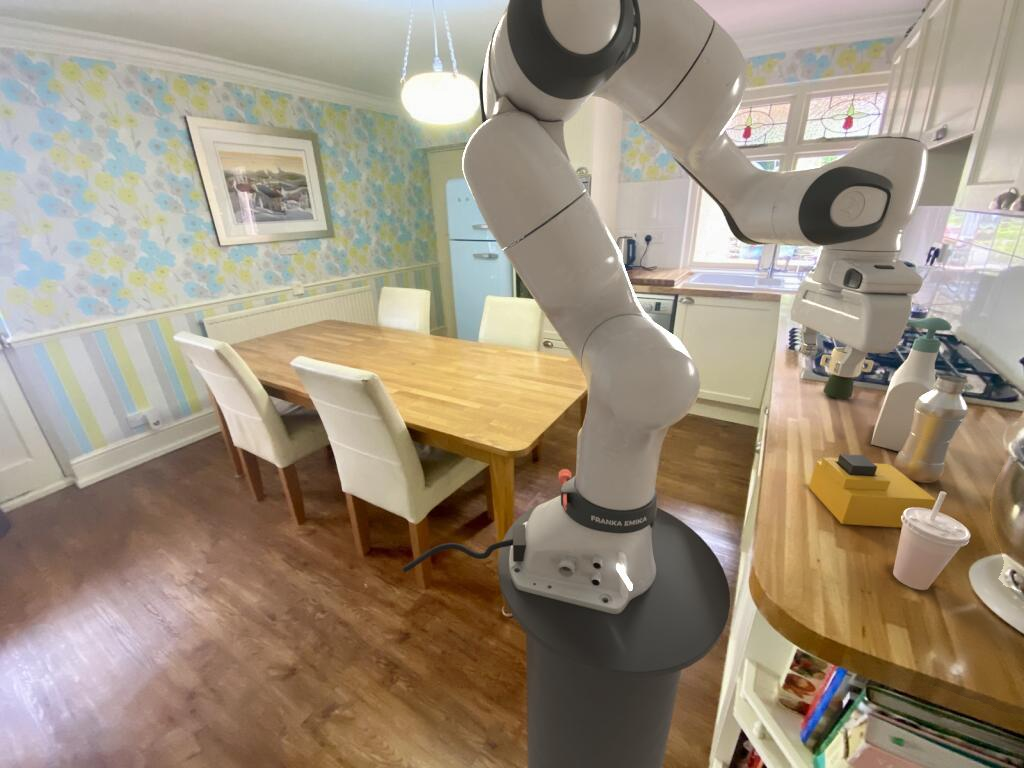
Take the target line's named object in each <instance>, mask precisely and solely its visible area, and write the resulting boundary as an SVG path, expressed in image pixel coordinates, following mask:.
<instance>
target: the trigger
mask: <svg viewBox="0 0 1024 768" xmlns="http://www.w3.org/2000/svg"><path fill="white" fill-rule="evenodd" d="M838 458H839V459H838V462H837V464H838V465H839V466H840V467H841V468H842V469H843V470H844V471H846V472H847V473H848V474H849V475H854V476H874V475H875V472H876V469H877V466H876V465H875V464H873V463H874V462H872V461H871V460H869V459H868V458H867V457H866V456H865V455H864V454H847V453H840V454H839V456H838Z"/></svg>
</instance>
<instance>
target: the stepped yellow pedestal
mask: <svg viewBox="0 0 1024 768" xmlns="http://www.w3.org/2000/svg"><path fill="white" fill-rule="evenodd" d="M838 459H839V457H822V460H816V461H815V464H814V467H813V472H812V475H811V478H810V482H809V485H808V489H810V490H811V491H812V493H813V494H814V495H815V496H816V497H817V499H819V501H820V502H822V504H823V506H825V508H827V510H829V512H830V513H831V514H832V515H833V516H834V517H835V518H836V519H837V520H838V522H839V523H840V524H841V525H851V526H853V525H854V526H867V527H868V526H870V527H886V528H901V529H902V525H903V522H902V520H901V516H902V515H903V513H904V511H905V510H906V509H908V508H925V509H929V510H933V507H934V505H935V503H936V501H937V499H936V498H935V497H933V496H932V495H931V494H929V493H928V492H927V491H925V490H924V489H923V488H922V487H920V486H919V485H918V484H916V483H915V481H913V480H910V479H909V478H907V477H906V476H905V475H903V474H902V473H901V472H899V471H898V470H897V469H896V468H895V467H894V465H892V464H891V463H877V462H876V463H875V462H872V463H873V464H875V465H876V466H877V469H876V472H875V475H874V476H854V475H849V474H848V473H847V472H846V471H844V470H843V469H842V468H841V467H840V466H839V465H838V464H837V462H838Z"/></svg>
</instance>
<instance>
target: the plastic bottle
mask: <svg viewBox="0 0 1024 768" xmlns="http://www.w3.org/2000/svg"><path fill="white" fill-rule="evenodd" d="M968 384H969V382H968V380H967V379H964V378H961V377H958V376H952V375H938V376H937V378H936V383H934V385H933V387H934V390H932V391H930V392H928V393H926V394H924V395H923V396H921V397H920V398H919V399H918V400H917V401H916V404H915V409H914V416H913V422H912V425H911V430H910V432H909V436H908V438H907V440H906V442H905V444H904V446H903V448H902V449H901V450H900V452H899V451H898V453H897V454H896V456H895V458H894V464H893V467H894V468H896V469H897V470H898V471H899V472H901V473H902V474H903V475H905V476H906V477H907V478H909V479H910V480H911V481H912V482H917V483H923V484H932V483H934V482H937V481H939V479H940V478H941V477H942V476H943V474H944V471H945V466H946V465H945V463H946V457H947V453H948V450H949V446H950V444H951V442H952V439H954V436H955V434H956V432H957V430H958V428H959V427H960V426H961V425H962V423H963V422H964V420H965V418H966V417H967V415H968V411H969V410H968V405H967V403H966V401H965V399H964V397H963V395H962V394H964V393H966V390H967V389H966V388H967V386H968Z"/></svg>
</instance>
